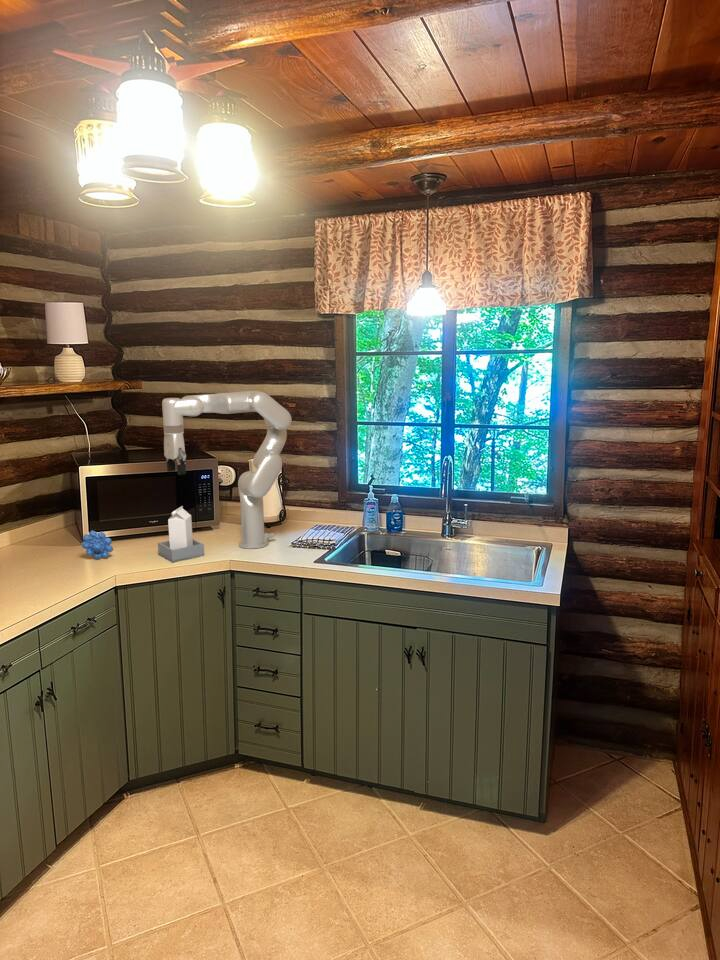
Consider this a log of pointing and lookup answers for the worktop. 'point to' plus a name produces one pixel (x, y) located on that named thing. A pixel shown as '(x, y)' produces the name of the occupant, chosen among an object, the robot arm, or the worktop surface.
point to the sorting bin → (180, 551)
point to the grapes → (97, 544)
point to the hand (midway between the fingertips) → (176, 472)
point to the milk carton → (180, 529)
